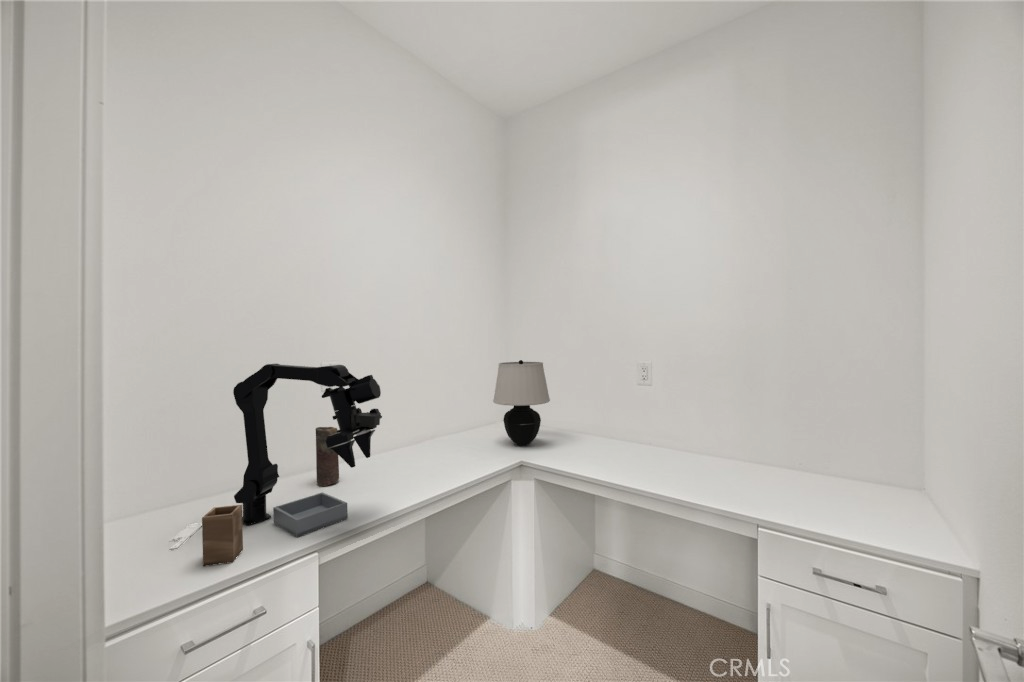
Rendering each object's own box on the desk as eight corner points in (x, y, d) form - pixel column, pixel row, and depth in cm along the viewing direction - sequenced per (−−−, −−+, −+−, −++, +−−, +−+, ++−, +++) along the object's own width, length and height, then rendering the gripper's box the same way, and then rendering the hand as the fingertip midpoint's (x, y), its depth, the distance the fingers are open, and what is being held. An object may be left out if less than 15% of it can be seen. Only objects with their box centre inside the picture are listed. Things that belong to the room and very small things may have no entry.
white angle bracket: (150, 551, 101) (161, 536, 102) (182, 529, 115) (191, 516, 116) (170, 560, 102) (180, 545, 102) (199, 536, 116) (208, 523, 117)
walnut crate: (214, 553, 100) (213, 507, 100) (242, 549, 101) (241, 504, 101) (203, 566, 94) (201, 517, 94) (233, 562, 96) (232, 514, 96)
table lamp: (497, 437, 212) (496, 359, 212) (551, 437, 209) (549, 358, 209) (489, 452, 185) (487, 362, 185) (550, 452, 182) (548, 361, 182)
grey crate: (273, 523, 116) (273, 507, 116) (322, 507, 127) (322, 492, 127) (297, 537, 107) (296, 520, 107) (347, 518, 118) (347, 502, 118)
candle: (317, 481, 150) (315, 426, 150) (339, 478, 153) (337, 424, 153) (316, 488, 143) (315, 430, 143) (339, 484, 146) (338, 428, 146)
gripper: (355, 405, 106) (373, 464, 106) (384, 395, 125) (400, 445, 125) (316, 417, 107) (333, 475, 107) (351, 406, 126) (366, 456, 126)
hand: (361, 462), depth 116 cm, fingers open, 9 cm apart
